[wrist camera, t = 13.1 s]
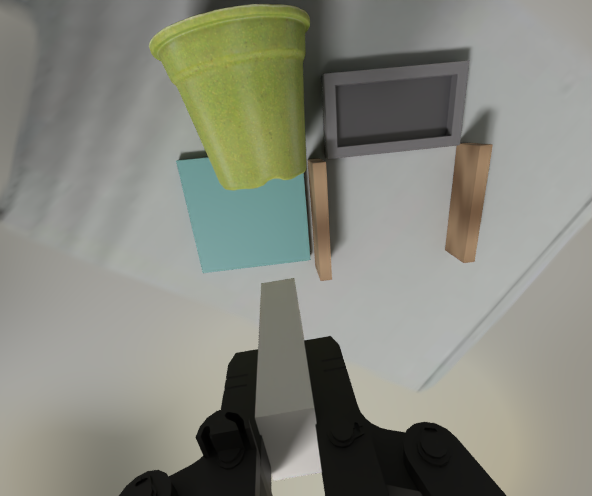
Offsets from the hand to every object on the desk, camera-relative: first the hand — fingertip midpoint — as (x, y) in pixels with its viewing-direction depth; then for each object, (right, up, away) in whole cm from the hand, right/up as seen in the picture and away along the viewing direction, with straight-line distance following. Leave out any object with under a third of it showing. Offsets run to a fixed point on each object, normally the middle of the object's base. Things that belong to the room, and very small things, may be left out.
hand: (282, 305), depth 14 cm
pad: (-3, +6, +12) cm, 14 cm away
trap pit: (+8, +14, +10) cm, 19 cm away
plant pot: (-2, +7, +7) cm, 11 cm away
